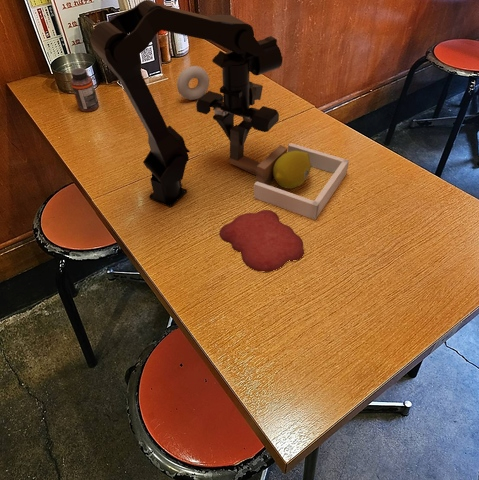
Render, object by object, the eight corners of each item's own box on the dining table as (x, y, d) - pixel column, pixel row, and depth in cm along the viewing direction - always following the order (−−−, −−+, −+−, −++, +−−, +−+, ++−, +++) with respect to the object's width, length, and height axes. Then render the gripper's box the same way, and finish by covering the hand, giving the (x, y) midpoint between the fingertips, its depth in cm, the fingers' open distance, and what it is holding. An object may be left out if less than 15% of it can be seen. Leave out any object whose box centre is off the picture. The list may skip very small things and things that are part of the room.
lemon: (285, 200, 103) (287, 172, 97) (263, 183, 107) (264, 155, 101) (319, 182, 107) (324, 154, 101) (297, 166, 112) (300, 138, 106)
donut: (207, 92, 139) (205, 60, 132) (212, 97, 137) (210, 65, 129) (177, 100, 136) (173, 68, 129) (181, 105, 134) (177, 73, 126)
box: (315, 219, 98) (317, 206, 95) (254, 197, 104) (254, 184, 101) (346, 174, 109) (348, 160, 106) (289, 156, 115) (290, 142, 112)
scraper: (262, 189, 105) (265, 156, 98) (220, 169, 110) (220, 136, 103) (284, 168, 111) (289, 135, 104) (243, 150, 115) (245, 117, 108)
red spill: (213, 230, 97) (212, 223, 96) (265, 206, 102) (265, 199, 101) (259, 283, 87) (259, 276, 86) (315, 252, 92) (316, 246, 91)
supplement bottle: (77, 105, 135) (65, 68, 127) (97, 100, 137) (87, 64, 129) (81, 114, 131) (69, 77, 123) (101, 109, 133) (91, 72, 125)
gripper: (291, 75, 98) (287, 136, 109) (219, 57, 105) (222, 117, 116) (267, 97, 92) (265, 160, 103) (192, 76, 98) (197, 138, 110)
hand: (237, 142), depth 108 cm, fingers closed on scraper, 2 cm apart
